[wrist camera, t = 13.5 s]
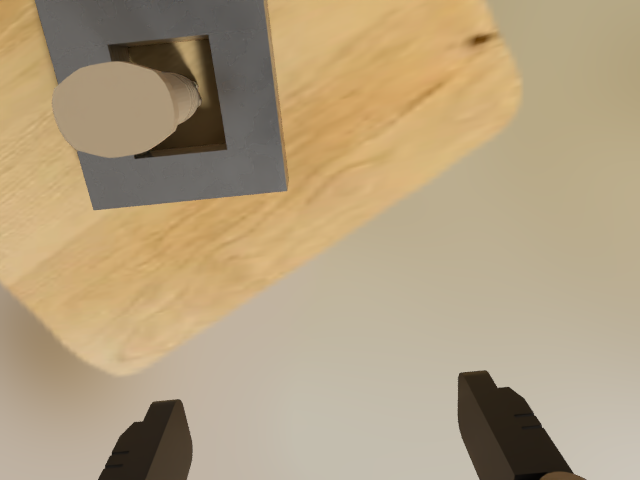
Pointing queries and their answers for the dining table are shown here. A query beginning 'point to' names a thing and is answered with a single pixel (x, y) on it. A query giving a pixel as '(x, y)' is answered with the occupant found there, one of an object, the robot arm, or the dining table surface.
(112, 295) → the dining table surface
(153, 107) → the handle
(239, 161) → the block
